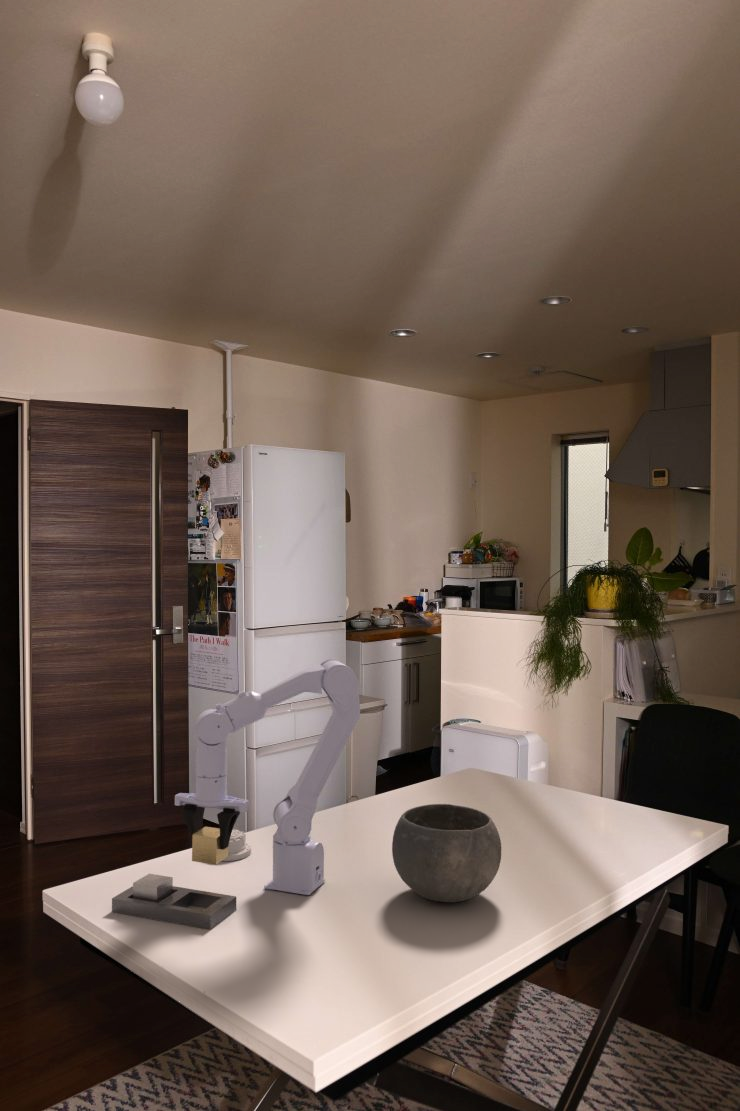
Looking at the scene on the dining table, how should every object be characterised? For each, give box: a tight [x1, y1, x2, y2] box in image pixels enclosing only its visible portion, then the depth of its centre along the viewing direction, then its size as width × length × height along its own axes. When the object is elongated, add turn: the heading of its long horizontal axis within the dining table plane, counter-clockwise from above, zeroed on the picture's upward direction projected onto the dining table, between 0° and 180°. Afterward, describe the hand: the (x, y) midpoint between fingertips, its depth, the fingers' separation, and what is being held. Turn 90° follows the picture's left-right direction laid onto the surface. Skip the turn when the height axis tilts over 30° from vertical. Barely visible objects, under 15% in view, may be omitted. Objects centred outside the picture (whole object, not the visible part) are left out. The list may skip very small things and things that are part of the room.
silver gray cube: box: [132, 873, 174, 903], centre depth 163 cm, size 5×5×5 cm
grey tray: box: [111, 885, 237, 930], centre depth 161 cm, size 20×9×2 cm, turn 70°
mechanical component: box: [221, 828, 252, 862], centre depth 191 cm, size 10×4×10 cm
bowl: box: [391, 803, 502, 903], centre depth 169 cm, size 20×20×15 cm
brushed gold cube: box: [191, 826, 228, 865], centre depth 171 cm, size 5×5×5 cm
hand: (210, 846), depth 171 cm, fingers closed on brushed gold cube, 5 cm apart
